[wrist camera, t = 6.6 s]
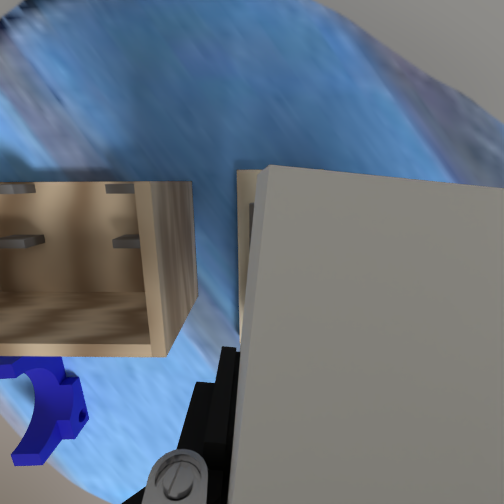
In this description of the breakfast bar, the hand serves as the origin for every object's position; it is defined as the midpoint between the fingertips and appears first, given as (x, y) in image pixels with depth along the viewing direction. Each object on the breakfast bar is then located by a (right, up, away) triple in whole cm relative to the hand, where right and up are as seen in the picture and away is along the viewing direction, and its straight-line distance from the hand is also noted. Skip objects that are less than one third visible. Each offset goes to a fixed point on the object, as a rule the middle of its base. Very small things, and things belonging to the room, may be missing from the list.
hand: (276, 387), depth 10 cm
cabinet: (-17, +6, +19) cm, 26 cm away
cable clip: (-24, -10, +23) cm, 35 cm away
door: (0, +1, +4) cm, 4 cm away
